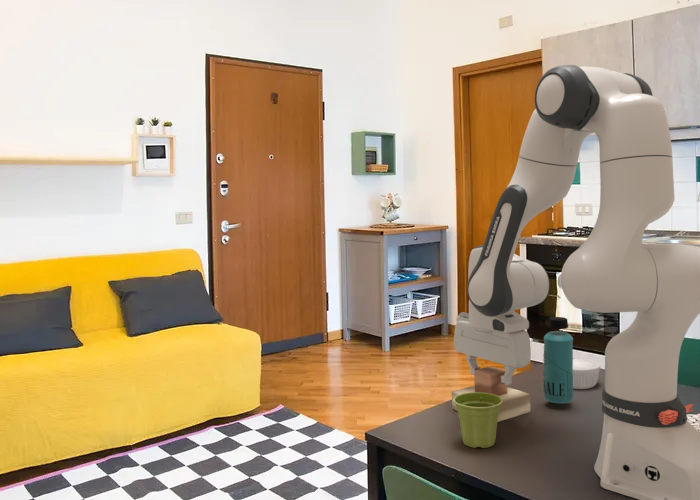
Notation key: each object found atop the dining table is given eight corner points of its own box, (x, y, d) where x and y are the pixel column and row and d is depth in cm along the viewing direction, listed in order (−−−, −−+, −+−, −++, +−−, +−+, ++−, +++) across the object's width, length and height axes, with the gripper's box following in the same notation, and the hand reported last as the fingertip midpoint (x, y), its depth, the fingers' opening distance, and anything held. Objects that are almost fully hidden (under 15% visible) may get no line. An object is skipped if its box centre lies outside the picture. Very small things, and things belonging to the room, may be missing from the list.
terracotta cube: (490, 397, 140) (490, 375, 139) (474, 392, 144) (474, 370, 143) (507, 393, 142) (507, 371, 142) (491, 387, 146) (490, 366, 146)
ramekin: (543, 380, 164) (543, 360, 164) (582, 375, 167) (582, 355, 167) (568, 393, 154) (568, 371, 153) (609, 388, 156) (609, 366, 156)
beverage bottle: (570, 400, 148) (569, 314, 146) (577, 410, 141) (577, 320, 140) (540, 400, 149) (540, 314, 147) (546, 410, 142) (546, 320, 140)
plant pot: (443, 441, 127) (442, 398, 126) (477, 430, 132) (476, 388, 131) (480, 456, 119) (479, 411, 118) (513, 443, 125) (513, 399, 124)
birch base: (530, 411, 142) (530, 394, 141) (490, 424, 135) (490, 405, 135) (490, 398, 152) (490, 381, 151) (451, 408, 145) (451, 391, 145)
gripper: (446, 312, 149) (448, 371, 150) (513, 326, 131) (514, 393, 133) (467, 309, 152) (468, 366, 153) (535, 322, 135) (535, 387, 136)
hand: (490, 379), depth 143 cm, fingers open, 8 cm apart
